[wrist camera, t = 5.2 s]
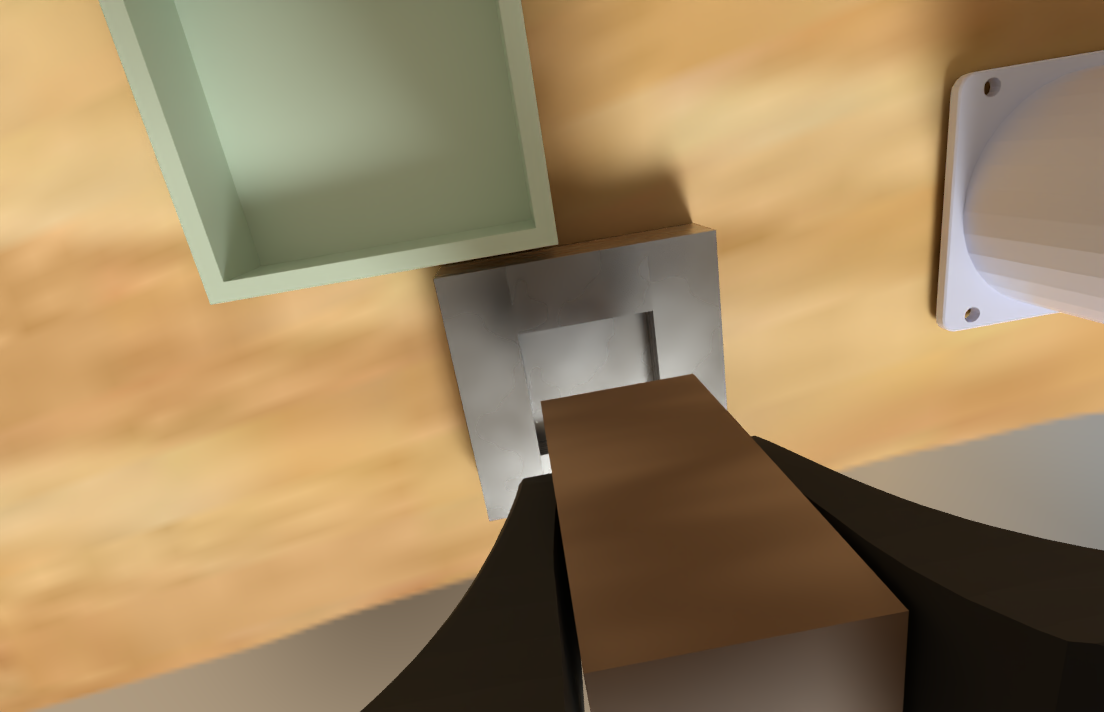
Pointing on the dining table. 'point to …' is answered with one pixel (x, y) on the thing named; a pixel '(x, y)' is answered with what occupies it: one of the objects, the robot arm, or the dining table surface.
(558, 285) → the socket block
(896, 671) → the strut
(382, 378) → the dining table surface
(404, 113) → the bin
